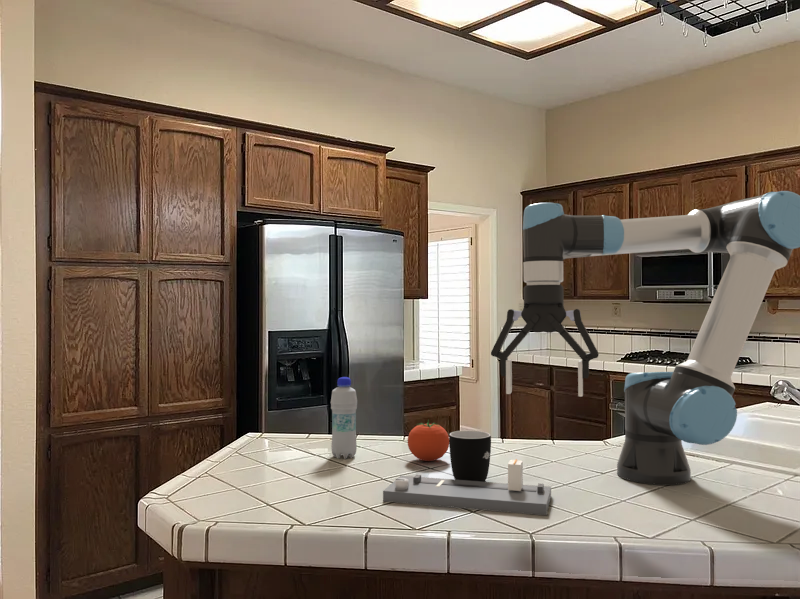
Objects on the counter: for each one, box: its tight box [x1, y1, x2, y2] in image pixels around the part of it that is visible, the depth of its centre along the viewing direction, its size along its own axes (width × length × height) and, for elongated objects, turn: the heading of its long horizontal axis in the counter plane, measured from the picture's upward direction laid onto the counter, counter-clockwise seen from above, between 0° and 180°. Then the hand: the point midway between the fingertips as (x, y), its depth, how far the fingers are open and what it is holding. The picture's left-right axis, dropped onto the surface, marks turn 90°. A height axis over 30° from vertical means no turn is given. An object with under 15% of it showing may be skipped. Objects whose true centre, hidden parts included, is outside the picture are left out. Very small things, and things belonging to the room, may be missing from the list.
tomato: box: [407, 419, 450, 462], centre depth 162 cm, size 10×10×10 cm
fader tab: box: [507, 458, 524, 491], centre depth 129 cm, size 2×4×5 cm, turn 163°
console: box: [382, 474, 552, 516], centre depth 130 cm, size 31×12×4 cm, turn 73°
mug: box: [448, 429, 492, 482], centre depth 144 cm, size 12×9×10 cm
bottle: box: [330, 376, 358, 460], centre depth 166 cm, size 7×7×20 cm
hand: (544, 394), depth 128 cm, fingers open, 13 cm apart
